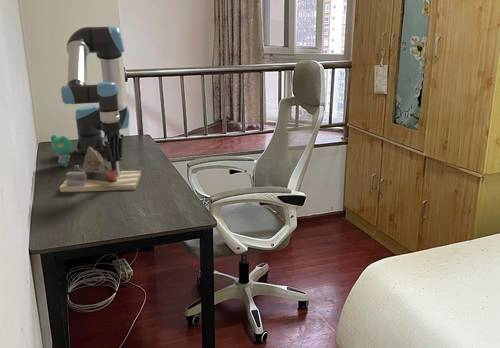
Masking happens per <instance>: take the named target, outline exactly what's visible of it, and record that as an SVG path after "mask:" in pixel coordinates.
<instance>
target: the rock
mask: <svg viewBox="0 0 500 348" xmlns="http://www.w3.org/2000/svg"><path fill="white" fill-rule="evenodd" d="M84 155H85V156H84V161H83V164H82V167H83V168H82V169H89V170H97V171H104V169H105V165H106V163H105V160H104V158H103V156H102V154H101V153H98V152H97V151H96V150H94V149H93V148H92V147H88V149H87V152H86V154H84Z"/></svg>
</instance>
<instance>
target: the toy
mask: <svg viewBox="0 0 500 348" xmlns="http://www.w3.org/2000/svg"><path fill="white" fill-rule="evenodd" d="M50 142H51V148H52V150H53V151H54V152H55V153H56V154H55V155H56V157H58V161H57V163H58V164H60V167H64V168H65V167H68V162H70V159H71V155H70V154H71V153H70V152H71V150H72V148H73V143H72V141H71V139H69V138H68V137H66V136H65V135H62V136H57V135H56V134H52V135H51V136H50Z"/></svg>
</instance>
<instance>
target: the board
mask: <svg viewBox="0 0 500 348" xmlns="http://www.w3.org/2000/svg"><path fill="white" fill-rule="evenodd" d="M104 169H105V170H104V171H106V172H107V171H108V170H109V166H108V164H105V165H104ZM73 170H74V171H67V173H65V180H64V181H63V183H62V184H61V185H60V186H59V192H60V193H66V192H67V193H68V192H69V193H73V192H95V191H96V192H98V191H99V192H100V191H102V192H103V191H125V190H126V191H127V190H128V191H129V190H131V191H133V190H137V187H138V184H139V182H140V179H141V177H142V170H121V171H120V176H119V177H117V180H116V181H115V182H108V181H103V180H95V179H88V178H86V172H78V170H80V165H79V164H74V165H73Z"/></svg>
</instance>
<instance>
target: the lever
mask: <svg viewBox="0 0 500 348" xmlns="http://www.w3.org/2000/svg"><path fill="white" fill-rule="evenodd" d="M78 172H86V178H88V179H95V180H103V181H108V182H115V181H116V180H117V176H116V170H112V169H108V171H107V172H106V171H105V170H102V171H97V170H89V169H84V168H79V170H78Z"/></svg>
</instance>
